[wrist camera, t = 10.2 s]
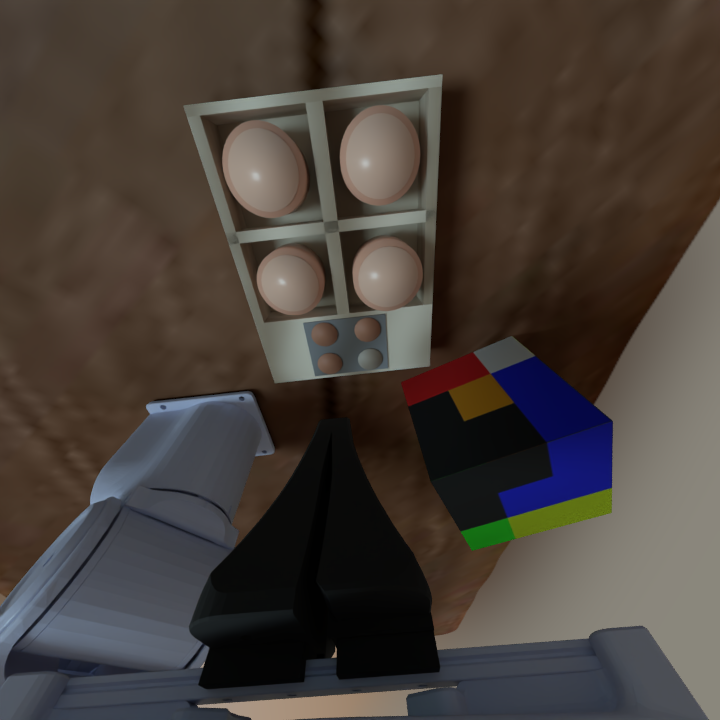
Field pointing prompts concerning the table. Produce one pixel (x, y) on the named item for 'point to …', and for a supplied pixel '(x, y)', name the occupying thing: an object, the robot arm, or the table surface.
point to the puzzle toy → (510, 444)
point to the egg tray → (331, 227)
